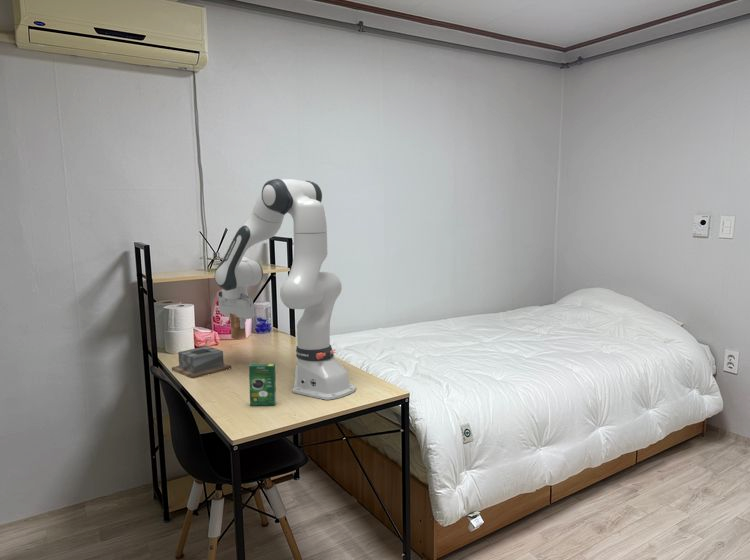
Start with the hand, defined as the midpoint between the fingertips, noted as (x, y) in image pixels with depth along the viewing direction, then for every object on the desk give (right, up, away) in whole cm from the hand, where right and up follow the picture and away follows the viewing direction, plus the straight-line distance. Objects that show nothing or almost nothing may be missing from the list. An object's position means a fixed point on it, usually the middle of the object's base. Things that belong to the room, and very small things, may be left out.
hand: (237, 327), depth 206 cm
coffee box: (+19, -21, -43) cm, 51 cm away
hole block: (-13, -16, -5) cm, 21 cm away
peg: (0, -4, 0) cm, 4 cm away
